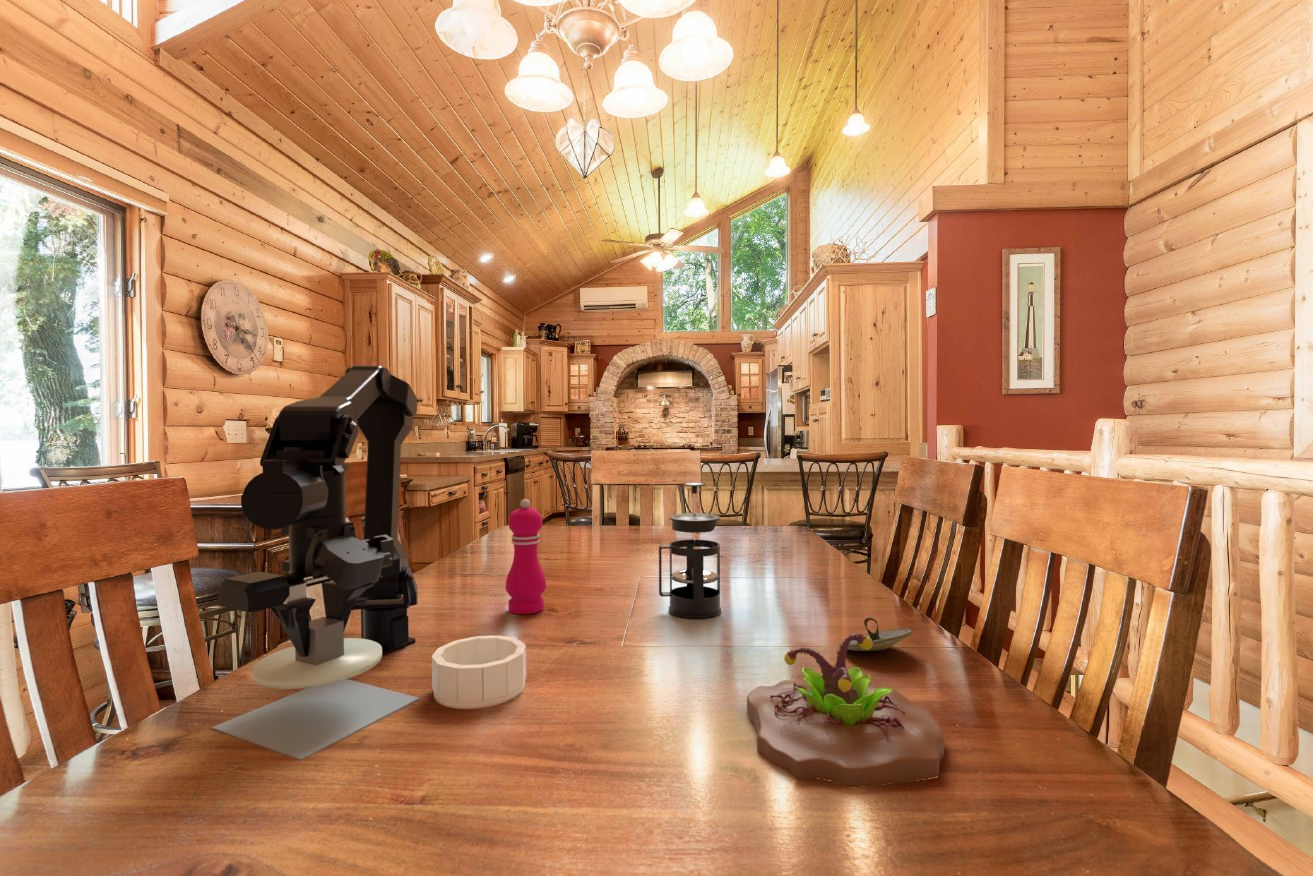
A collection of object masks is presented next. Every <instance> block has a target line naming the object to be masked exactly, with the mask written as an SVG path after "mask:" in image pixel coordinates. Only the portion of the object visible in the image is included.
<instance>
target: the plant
mask: <svg viewBox="0 0 1313 876" xmlns="http://www.w3.org/2000/svg"><path fill="white" fill-rule="evenodd" d="M852 640H856V641H857V643H858V645H859V647H861V648H862V649H863V650H869V649H871V647H872V645H873V643H872V640H871V639H870V638H869V637H868V636H867V635H865V634H863V633H857V632H855V633H849V635H848V636H847V637H846V638H845V639H844V640H843V641H842V642H843V644H842V645H841V646H839V650H837V652H836V660H835V664H834V665H832V664H830V663H829V662H828V661H827V659H826V658H825V657H824V655H821V654H820V652H817V651H815V650H814V649H811V648H809V647H799V648H795V649H794V650H790V651H787V653H786V654H785V655H784V662H785V663H786V664H787V665H788V666H791V665H794V664H795V663H796V660H797V655H798V654H799V653H800V654H807V655H809V656H810V657H812V658H813V659H815V661H816V664H818V665H819V668H820V672H821V674H822V675H821V674H820V673H819V672H817V671H816V670H814V669H811V668H808V667H806V666H803V668H801V671H802V673H803V676H804V677H803V680H800V681H799V680H798V681H797V680H790V679H789V680H788V679H787V680H781V681H779V682H778V683H776V684H774V685H769V686H764V685H763V686H762V685H759V686H757V687H756V688H754V689H752V690H751V691H750V692H749V693H748V694H747V697H746V713H747V717H748V718H749V720H750V722H751V724H752V725H753V727H754V729H755V732H756V751H757V752H758V753H759V754H760V755H762V756H763V757H764V758H765V759H766V760H767V761H768V762H769V763H770V764H771V765H773V766H775V767H777V768H778V769H781V770H784V771H786V772H787V773H788V774H790V775H791V776H793V777H794V778H796V779H797V780H796V781H804V780H803V779H808V780H812V779H811V778H814V779H813V780H817V779H816V778H819V779H826V780H831V781H834V782H836V783H839V784H840V785H839V784H838V785H839V786H841V785H843V786H842V787H844V786H846V787H845V788H848V787H861V788H865V787H864V786H868V787H874V786H873V785H880V786H884V785H883V784H888V783H889V785H891V784H890V783H897V784H903V783H902V782H905V783H907V782H906V781H916V780H921V779H922V780H923V779H928V778H933V777H936V776H938V775H939V776H940V763H941V761H940V759H941V758H942V756H943V755H944V756H945V738H944V732H943V729H942V728H941V726H940V725H939V724H938V723H937V721H936V719H935V718H934V716H933V715H932V714H931V713H932V712H930V711H929V710H928V709H925V708H923V707H921V706H918V705H917V704H915V703H913V702H912V701H911V700H910V699H908V698H907V697H906V696H905V695H904V694H902V693H901V692H899V691H898V690H897V689H894V688H889V687H884V686H880V685H876V684H871V683H870V682H871V679H872V678H871V675H870V674H863V672H862V670H861V668H859V667H853V668H849V669H847V660H846V659H847V652H848V650H847V649H848V646H849V644H850V642H851V641H852ZM939 762H940V763H939ZM819 779H818V780H819ZM900 782H901V783H900ZM836 783H835V784H836ZM881 784H882V785H881ZM870 785H871V786H870ZM862 786H863V787H862Z"/></svg>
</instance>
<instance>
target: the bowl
mask: <svg viewBox="0 0 1313 876" xmlns="http://www.w3.org/2000/svg"><path fill="white" fill-rule="evenodd" d="M526 649H527V645H526V644H525V643H524V642H522V641H521V640H520V639H518V638H515V637H511V636H504V635H499V634H498V635H478V636H477V635H475V636H470V637H466V638H460V639H456V640H453V641H451V642H448V643H446V644H444V645H442V646H440V647H438V648H437V649H436V650H435V651H434V652H433V654H432V655H431V690H432V691H433V698H434V700H435V702H436V703H438V704H440V705H441V706H443V707H447V708H452V709H457V710H458V709H460V710H473V709H474V710H475V709H477V710H478V709H485V708H489V707H493V706H497V705H501V704H503V703H507V702H509V701H510V700H513V699H515V698H516V697H518V696H519V695H521V693H522V692H523V691H524V690H525V687H526V678H527V652H526V651H527V650H526Z"/></svg>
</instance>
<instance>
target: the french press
mask: <svg viewBox="0 0 1313 876" xmlns="http://www.w3.org/2000/svg"><path fill="white" fill-rule="evenodd" d="M682 486H685V487H691V494H692V495H693V496H692V497H693V498H692V499H693V501H692V502H693V512H685V513H677V514H673V515H670V516H669V520H671V529H672V530H673V531H675V532H680V533H689V534H690V533H691V534H693V539H679V540H678V539H677V540H674V541H671V542H670V543H669V544H660V545H658V594H659V597H669V606H668V612H669V614H671V615H672V616H674V617H678V618H681V619H682V618H683V619H690V620H691V619H692V620H697V619H698V620H701V619H710V618H713V617H716V616H719V615H720V614H721V613H722V607H721V572H720V571H721V544H720V543H719V542H717V541H714V540H709V539H696V533H698V534H699V533H702V534H703V533H710V532H713V531H714V529H715V528H716V526H717V523H718V521H720V519H721V517H720V516H719V515H718V514H717V515H716V514H711V513H702V512H697V511H696V494H698V487H705V486H707V484H706V483H705V482H700V481H698V482H697V481H693V482H690V481H689V482H685V483H682ZM697 547H699V548H697ZM700 547H701V548H700ZM663 549H664V550H665V549H667V550H668V549H669V591H667V592H666V591H664V592H663V590H662V589H663V588H662V586H663V585H662V584H663V583H662V579H663V577H662V550H663ZM673 555H674V556H675V555H676V556H680V557H681V556H682V557H686V569H684V570H677V571H675V572H673V569H672V568H673V567H672V566H673V563H672V560H673V558H672V557H673ZM715 555H716V572H715V571H712V570H711V571H710V570H704V569H705V568H704V557H710V556H711V557H712V556H715ZM673 581H674V582H677V583H680V584H686V585H683V586H679V587H678V586H677V587H675V588H673ZM714 582H717V583H716V588H715V587H714V588H713V587H711V586H705V584H712V583H714Z"/></svg>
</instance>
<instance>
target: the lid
mask: <svg viewBox="0 0 1313 876" xmlns="http://www.w3.org/2000/svg"><path fill="white" fill-rule="evenodd" d="M869 621H874V623H876V631H875V632H872V631H871V630H870V629H869V628H867V627H868V622H869ZM863 624H864V627H865V630H866V631H867V633H865V634H864V635H867V636H868V637H869V638H870V639H871V640H872V643H873V645H872V647H871V649H869V650H863V649H862V648H861V647H859V645H858V643H857V641H856V640H852V641H851V642H850V644H849V646H848V649H847V651H855V652H856V651H857V652H871V651H874V652H875V651H876V652H877V651H883V650H886V649H889V648H891V647H893V646H894V645H897V644H898V643H900V642H902V641H904V640H905V639H906V638H908V637H909V636H910V635H912V634H913V630H912V629H910V628H906V627H905V628H897V629H887V630H881V631H879V624H878V621H877V620H876V619H875V618H872V617H867V618H865V619H864V620H863ZM842 644H843V641H841V642H840V643H839V644H838V645H839V647H840V646H841V645H842Z"/></svg>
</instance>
